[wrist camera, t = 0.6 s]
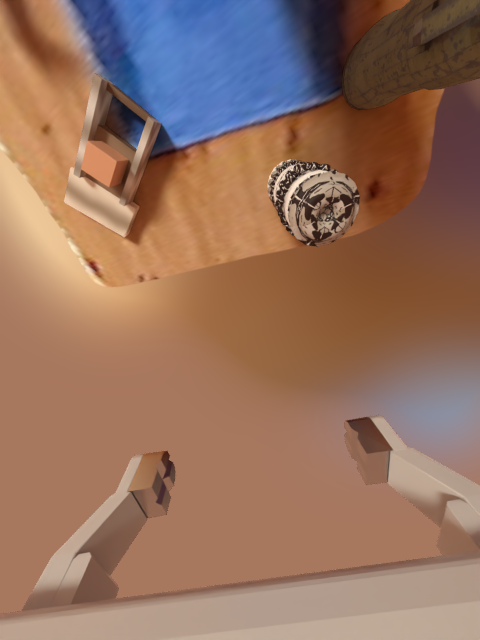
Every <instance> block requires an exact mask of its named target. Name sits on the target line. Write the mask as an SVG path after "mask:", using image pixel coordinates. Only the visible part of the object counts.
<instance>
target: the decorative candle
mask: <svg viewBox="0 0 480 640" xmlns="http://www.w3.org/2000/svg"><path fill="white" fill-rule="evenodd" d="M267 188H268V195H269V198H270V200H271V201H272V203H273V205H274V206H275V207H276V209H277V211H278V215H279V217H280V219H281V223H282V224H283V225H286V230H287V231H288V232H290V234H291V235H295V237H296V238H297V239H298V240H300V241H301V242H302V243H304V244H305V245H310V246H317V247H318V246H322V245H327V244H330V243H332V242H334V241H335V240H337V239H339V238H340V237H342V236H343V235H344V234H345V233H346V231H347V230H348V229H349V228H350V227H351V226H352V224H353V222H354V220H355V217H356V215H357V213H358V210H359V199H360V195H359V192H358V190H357V187H356V184H355V182H354V181H353V180H352V179H350V178H349V177H348V176H347V175H346V174H344V173H339V172H338V171H337V170H335V169H333V170H330V166H329V165H328V164H322V165H320V164H318V163H315V162H312V163H309V162H303V161H298V160H295V159H290V160H287V161H283V162H281V163H280V164H279V165H277V166H276V167H275V168H274V169H273V171H272V173H271V174H270V176H269V180H268V185H267Z"/></svg>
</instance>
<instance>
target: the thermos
mask: <svg viewBox="0 0 480 640" xmlns="http://www.w3.org/2000/svg"><path fill="white" fill-rule="evenodd" d="M479 78H480V0H411V1H410V2H409V3H407V4H406V5H405V6H404V7H403V8H401V9H398V10H395V11H393V12H392V13H390V14H388V15H386V16H384V17H383V18H382V19H381V20H379V21H378V22H377V23H376V24H375V25H374V26H373V27H372V28H371V29H370V30H369V31H368V32H367V33H366V34H365V35H364V36H363V37H362V38H361V39H360V40H359V41H358V42H357V43H356V44H355V46H354V48H353V49H352V51H351V53H350V54H349V56H348V58H347V61H346V64H345V67H344V70H343V76H342V91H343V95H344V97H345V100H346V102H347V103H348V104H349V105H350V106H351V107H353V108H355V109H358V110H361V109H371V108H377V107H380V106H384V105H386V104H388V103H390V102H392V101H394V100H395V99H397V98H398V97H399V96H401V95H404V94H408V93H411V92H414V91H417V90H421V89H424V88H425V89H428V90H434V89H443V88H446V87H450V86H454V85H457V84H461V83H464V82H468V81H472V80H475V79H479Z"/></svg>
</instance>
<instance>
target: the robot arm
mask: <svg viewBox="0 0 480 640" xmlns="http://www.w3.org/2000/svg"><path fill="white" fill-rule="evenodd" d="M344 427H345V429H346V431H347V432H346V433H345V442H346V446H347V449H348V451H349V453H350V455H351V457H352V458H353V459H354V460H356V461H357V469H358V471H359V473H360V475H361V476H362V478H363V480H364V482H365V484H366V485H369V484H378V483H386V482H388V484H389V485H390V486H391V487H393V488H394V489H395V490H396V491H397V492H399V493H400V494H401V495H402V496H403V497H404V498H406V499H407V500H408V501H409V502H410V503H412V504H413V505H414V506H415V507H416V508H418V509H419V510H420V511H421V512H422V513H423V514H425V515H426V516H427V517H428V518H429V519H431V520H432V521H433V522H434V523H435V524H437V525H438V526H439V527H440V528H441V529H440V533H439V537H438V542H437V548H438V549H439V551H440V552H441V554H442V556H437V557H429V558H421V559H413V560H406V561H398V562H390V563H383V564H375V565H368V566H360V567H352V568H345V569H337V570H329V571H322V572H314V573H307V574H299V575H292V576H284V577H276V578H268V579H262V580H253V581H246V582H238V583H230V584H222V585H215V586H207V587H200V588H192V589H185V590H177V591H169V592H162V593H154V594H146V595H139V596H132V597H124V598H117V599H116V596H117V593H118V589H119V588H118V585H117V583H116V582H115V581H114V580H113V579H112V578H111V576H110V575H111V574H112V572H113V571H114V569H115V568H116V566H117V565H118V563H119V561H120V560H121V558H122V557H123V556H124V554H125V553H126V551H127V550H128V548H129V546H130V545H131V544H132V542H133V541H134V539H135V538H136V536H137V535H138V533H139V531H140V530H141V529H142V527H143V525H144V524H145V523H146V521H147V518H152V517H157V516H163V515H167V511H168V507H169V503H170V499H171V496H170V494H169V491H170V490H171V489H172V487H173V486H174V482H175V466H174V464H173V462H171V461H170V460H169V457H170V455H169V453H168V451H162V452H154V453H147V454H140V455H134V456H133V458H132V459H131V460H130V463H129V465H128V467H127V469H126V471H125V474H124V476H123V478H122V480H121V482H120V485H119V487H118V489H117V491H116V493H115V494H113V495H111V496H110V497H109V498H108V499H107V500H106V501H105V502H104V503H103V504H102V505H101V506H100V508H98V510H97V511H96V512H95V513H94V514H93V515H92V516H91V517H90V518H89V519H88V520H87V521H86V522H85V523H84V524H83V525H82V526H81V527H80V528H79V529H78V530H77V531H76V532H75V533H74V534H73V536H71V537H70V538H69V540H67V542H66V543H65V544H64V545H63V546H62V547H61V548H60V549H59V550H58V551H57V552H56V553H55V554H54V555H53V556H52V557H51V559H50V561H49V563H48V565H47V566H46V568H45V570H44V572H43V573H42V575H41V577H40V579H39V580H38V582H37V584H36V586H35V588H34V590H33V591H32V593H31V595H30V596H29V598H28V600H27V602H26V604H25V605H24V607H23V609H22V611H17V612H10V613H3V614H0V640H480V486H479V485H477V484H475V483H474V482H472V481H470V480H469V479H467V478H465V477H463V476H461V475H460V474H458V473H456V472H454V471H452V470H451V469H449V468H447V467H445V466H444V465H442V464H440V463H438V462H437V461H435V460H433V459H431V458H429V457H428V456H426V455H424V454H422V453H421V452H419V451H417V450H415V449H413V448H408V447H407V446H406V445H405V444H404V442H403V441H402V440H401V439H400V437H399V436H398V435H397V434H396V433H395V431H394V430H393V429H392V428H391V426H390V425H389V424H388V423H387V421H386V420H385V419H384V418H383V417H382V416H381V415H376V416H370V417H363V418H358V419H352V420H347V421H345V422H344Z"/></svg>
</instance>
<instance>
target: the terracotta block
mask: <svg viewBox="0 0 480 640" xmlns="http://www.w3.org/2000/svg"><path fill="white" fill-rule="evenodd" d="M128 161H129V160H128V159H127V158H126V157H124V156H123V155H121V154H120V153H119V152H117V151H116V150H114V149H113V148H112V147H110V146H109V145H108V144H106V143H105V142H103V141H87V144H86V149H85V153H84V158H83V162H82V167H81V170H83V171H85V172H86V173H88V174H89V175H91V176H92V177H94V178H95V179H97V180H98V181H100V182H101V183H103V184H105V185H106V186H108V187H112V186H115V185H118V184H121V182H122V179H123V176H124V173H125V170H126V167H127V164H128Z"/></svg>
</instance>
